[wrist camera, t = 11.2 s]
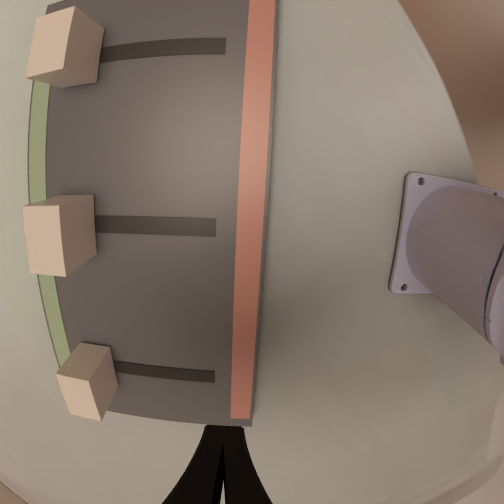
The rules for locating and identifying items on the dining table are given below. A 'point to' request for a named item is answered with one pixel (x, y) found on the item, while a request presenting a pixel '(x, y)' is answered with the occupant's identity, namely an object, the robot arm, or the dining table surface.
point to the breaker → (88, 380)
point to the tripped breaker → (65, 49)
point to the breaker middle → (60, 234)
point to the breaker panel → (166, 200)
